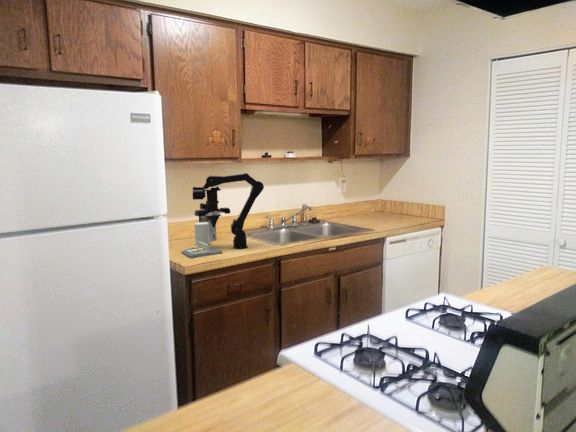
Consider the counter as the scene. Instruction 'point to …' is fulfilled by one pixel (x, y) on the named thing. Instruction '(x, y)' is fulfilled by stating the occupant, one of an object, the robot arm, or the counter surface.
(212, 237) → the coffee box
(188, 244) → the counter surface
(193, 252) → the panel
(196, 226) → the supplement box
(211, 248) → the board
